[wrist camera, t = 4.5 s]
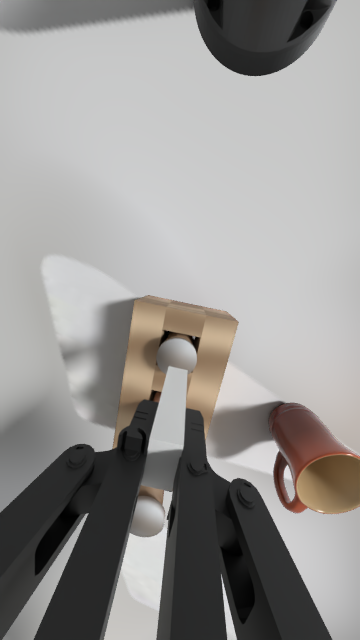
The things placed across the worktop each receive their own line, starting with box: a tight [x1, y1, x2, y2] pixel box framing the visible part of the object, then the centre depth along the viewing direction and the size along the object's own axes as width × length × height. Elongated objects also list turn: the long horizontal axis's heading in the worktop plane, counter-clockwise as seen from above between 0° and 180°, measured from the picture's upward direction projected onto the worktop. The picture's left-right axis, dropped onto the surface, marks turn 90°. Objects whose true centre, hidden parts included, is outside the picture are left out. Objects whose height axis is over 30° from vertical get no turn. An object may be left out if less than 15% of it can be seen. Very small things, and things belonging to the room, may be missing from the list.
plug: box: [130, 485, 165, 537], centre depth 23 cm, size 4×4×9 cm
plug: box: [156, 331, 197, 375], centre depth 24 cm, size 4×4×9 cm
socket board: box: [113, 295, 238, 491], centre depth 27 cm, size 26×12×7 cm, turn 169°
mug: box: [269, 403, 360, 514], centre depth 26 cm, size 12×9×10 cm
